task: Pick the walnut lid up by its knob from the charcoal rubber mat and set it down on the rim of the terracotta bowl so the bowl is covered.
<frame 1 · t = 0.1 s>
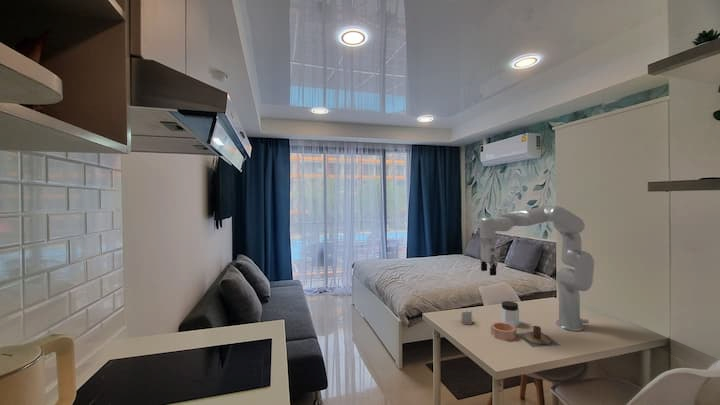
hand: (488, 272, 164), 31 cm above the table, tool pointing down, fingers open, 9 cm apart
lid: (537, 339, 153), point 1 cm above the table, touching mat
architectural model: (466, 324, 175), on the table
mat: (537, 340, 153), on the table
jar: (510, 325, 171), on the table
bowl: (503, 336, 158), on the table
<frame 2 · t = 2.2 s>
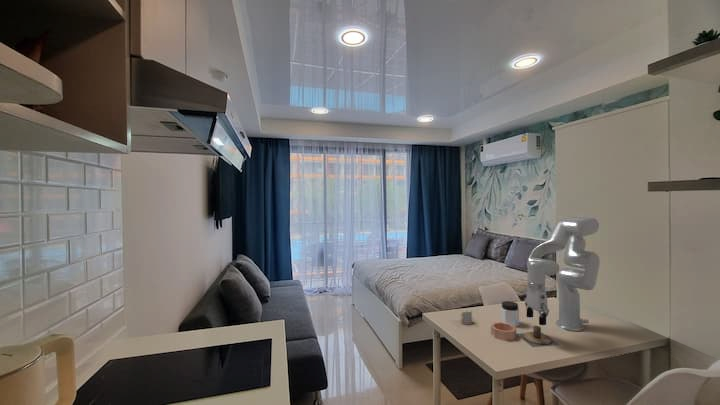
hand: (536, 320, 152), 10 cm above the table, tool pointing down, fingers open, 9 cm apart
nothing on the table moved.
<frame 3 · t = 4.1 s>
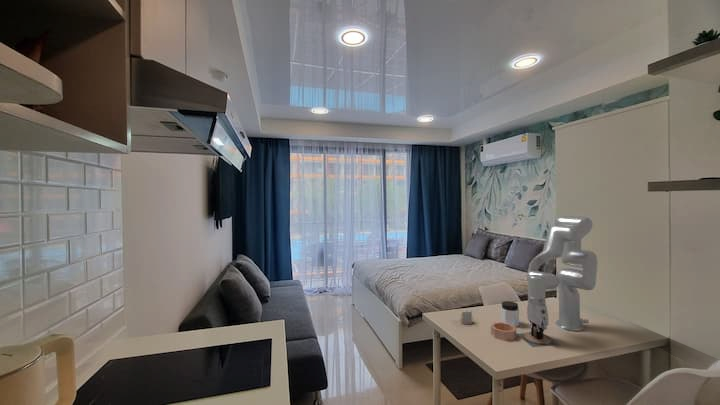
hand: (537, 336, 153), 2 cm above the table, tool pointing down, fingers closed on lid, 3 cm apart
lid: (537, 339, 153), point 1 cm above the table, touching gripper, mat
everything else where it was.
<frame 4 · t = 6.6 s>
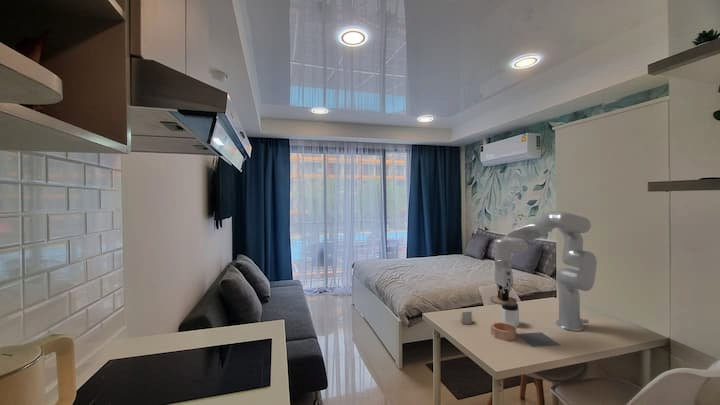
hand: (503, 298, 157), 19 cm above the table, tool pointing down, fingers closed on lid, 3 cm apart
lid: (503, 301, 157), point 18 cm above the table, touching gripper
everything else where it was.
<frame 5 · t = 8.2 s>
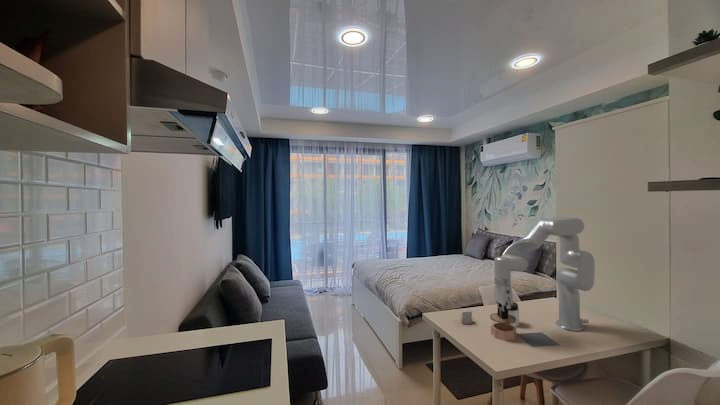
hand: (502, 316, 157), 10 cm above the table, tool pointing down, fingers closed on lid, 3 cm apart
lid: (502, 319, 157), point 9 cm above the table, touching gripper
everything else where it was.
when the fingers open (8 cm above the table, at t = 9.4 s): lid drops 1 cm, resting on bowl.
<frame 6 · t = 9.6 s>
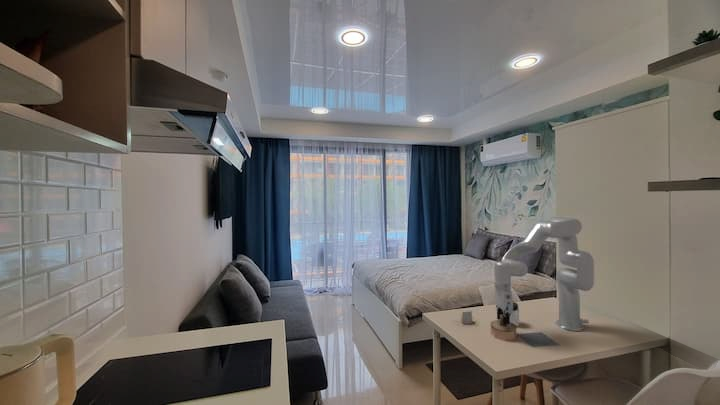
hand: (503, 321, 158), 8 cm above the table, tool pointing down, fingers open, 5 cm apart
lid: (503, 326, 158), point 5 cm above the table, touching bowl
everything else where it was.
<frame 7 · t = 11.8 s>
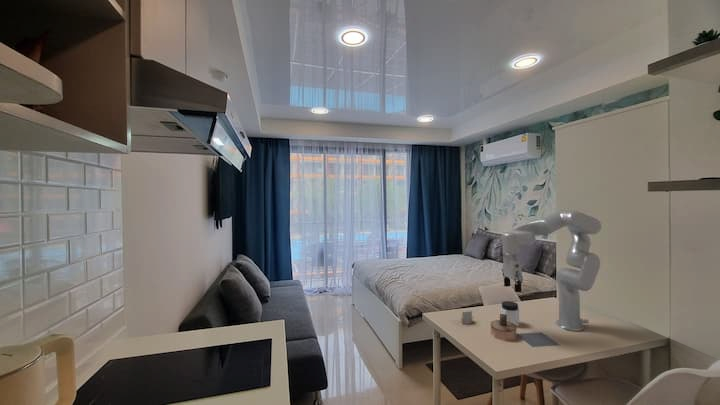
hand: (512, 289, 160), 23 cm above the table, tool pointing down, fingers open, 9 cm apart
nothing on the table moved.
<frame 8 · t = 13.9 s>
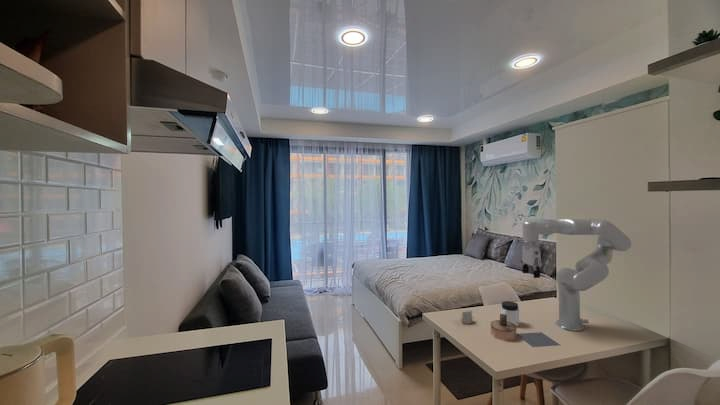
hand: (531, 275, 168), 28 cm above the table, tool pointing down, fingers open, 9 cm apart
nothing on the table moved.
at the end: lid 0.0 cm from the bowl (horizontally); lid 0.0 cm off-centre on the bowl, point 5.0 cm above the bowl's base; lid tilted 0° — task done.
